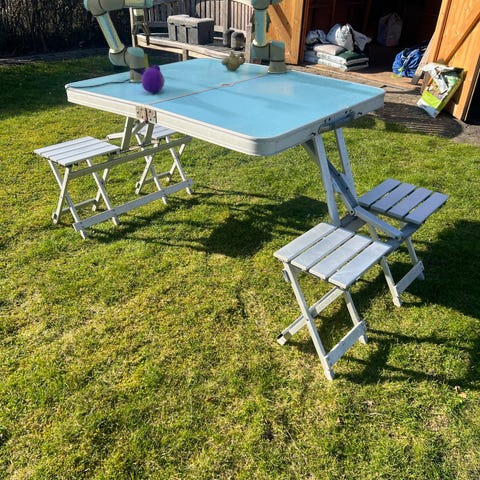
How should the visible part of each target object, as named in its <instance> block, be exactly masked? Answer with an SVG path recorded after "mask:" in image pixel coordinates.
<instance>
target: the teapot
mask: <svg viewBox="0 0 480 480" xmlns="http://www.w3.org/2000/svg"><path fill="white" fill-rule="evenodd" d="M240 58H241V60H240ZM245 62H246V59H245V54H244V53H243V52H239V54H237V55H236V54H235V53H234V51H233V50H232V51H230V53H229V55H228V57H224V58H222V60H221V65H222V66H225V68H226V70H227V71H229V72H235V71H237V70H239V68H240V67H241V66H243V65H244V64H245Z"/></svg>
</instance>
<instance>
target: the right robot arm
mask: <svg viewBox="0 0 480 480" xmlns="http://www.w3.org/2000/svg"><path fill="white" fill-rule="evenodd" d="M283 1H284V0H250V6H251V7H252V9H253V10H252V14H251V16H250V19H249V23H251V28H252V33H254V39H253V40H252V42H251V43H250V48H251V49H250V50H251V57H252V58H253V59H254V60H266V59H267V60H270V61H269V65H268V68H267V73H268V74H271V75H283V74H287V73H288V71H292V69H291V68H287V65H286V49H287V48H286V43H285V42H284V41H283V40H282V41H281V40H276V39H275V40H274V39H273V40H270V41H269V40H268V39H267V33H269V29H270V24H272V19H271V17H270V14H269V10H268V9H269V7H270V6H274V5H279V4H280V3H282V2H283Z"/></svg>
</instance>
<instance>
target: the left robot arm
mask: <svg viewBox="0 0 480 480" xmlns="http://www.w3.org/2000/svg"><path fill="white" fill-rule="evenodd" d="M83 4H84V5H83V6H84V8H85V9H86V11H89V12H91V14H92V17H94V18H96V20H97V22H98V25H99V27H100V28H101V30H102V33H103V35H104V38H105V40H106V41H107V44H108V46H109V50H108V59H109V61H110V62H111V63H112V64H113V65H115V66H119V67H121V66H123V67H125V66H126V67H129V76H128V79H125V80H123V81H109V82H104V83H100V84H95V85H87V86H86V85H85V86H71V85H70V86H67V87H66V88H65V91H67V90H68V89H70V87H71V88H72V89H84V88H86V89H87V88H95V87H100V86H104V85H105V86H106V85H108V84H109V85H110V84H123V83H126V82H129V83H133V84H142V76H143V75H141V74H139V73H137V72H135V71H134V70H146V66H145V57H144V56H145V55H144V54H145V52H144V49H143V48H141V47H137V45H139V39H138V38H139V37H138V32H139V30H140V29H141V30H142V31H143V33H144V35H145V42H146V47H148V46H149V47H150V46H151V44H150V43H151V39H150V36H152V33H151V31H150V29H149V26H148V22H147V21H146V22H145V16H144V15H145V13H144V8H152V7H153V5H154V0H83ZM124 8H127V9H131V8H132V12H133V19H134V21H133V22H132V28H131V32H130V33H131V35H132V36H133V41H134V45H135V46H129V47H127V48H126V46H125V44H124V43H122V42H121V40H120V38H119V36H118V35H119V34H118V32H117V30H116V28H115V26H114V23H113V21H112V19H111V17H110V15H109V12H110V11H116V10H122V9H124Z"/></svg>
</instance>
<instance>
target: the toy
mask: <svg viewBox="0 0 480 480" xmlns="http://www.w3.org/2000/svg"><path fill="white" fill-rule="evenodd" d="M134 71H135V72H137V73H139V74H141V75H143V76H142V83H141V85H142V87H143V89H144V90H145V91H146V92H147V93H151V94H157V93H159V92H160V91H161V90H162V89H163V87H164V86H165V78H164V75H163V72H161V67H160V66H159V65H158V64H153V65H151V66H149V69H147V70H134Z"/></svg>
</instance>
